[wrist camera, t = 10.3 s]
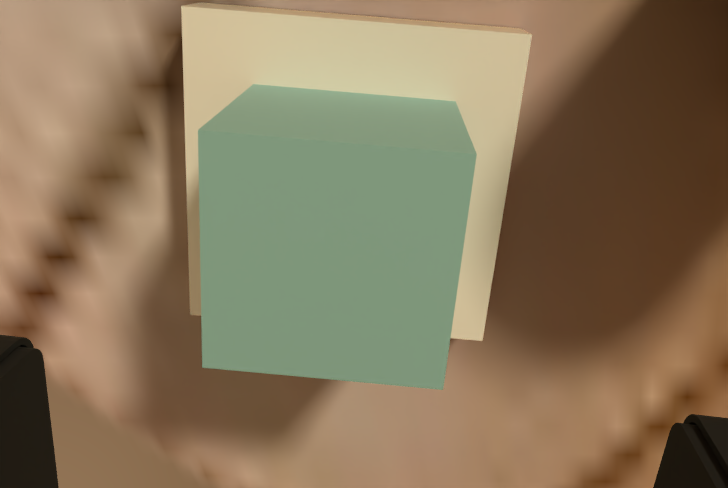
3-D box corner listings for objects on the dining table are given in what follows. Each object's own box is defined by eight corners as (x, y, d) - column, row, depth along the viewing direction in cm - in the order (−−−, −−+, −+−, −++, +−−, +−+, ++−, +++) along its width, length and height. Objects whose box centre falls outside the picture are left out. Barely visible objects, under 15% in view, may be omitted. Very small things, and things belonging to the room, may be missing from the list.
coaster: (520, 28, 21) (532, 34, 19) (476, 312, 25) (482, 341, 23) (200, 2, 21) (181, 6, 19) (205, 289, 25) (189, 314, 23)
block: (455, 101, 20) (476, 153, 15) (432, 284, 22) (442, 389, 17) (253, 83, 20) (197, 129, 15) (250, 267, 22) (202, 367, 17)
